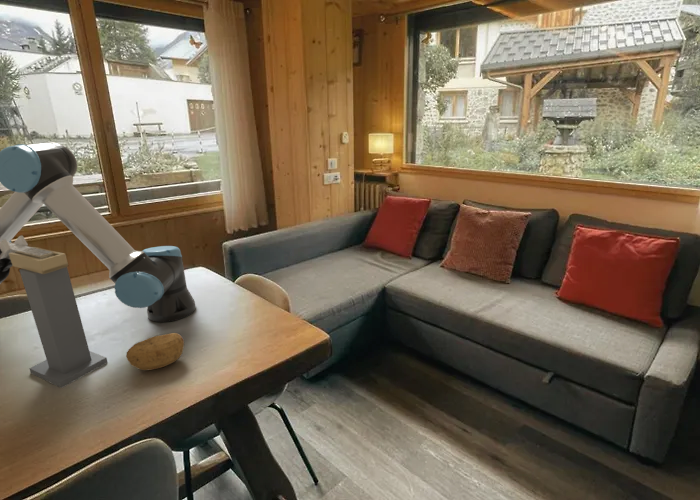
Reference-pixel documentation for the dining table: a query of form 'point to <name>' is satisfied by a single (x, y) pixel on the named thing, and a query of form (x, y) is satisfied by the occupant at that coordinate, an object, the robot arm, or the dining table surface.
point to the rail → (28, 251)
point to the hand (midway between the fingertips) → (15, 242)
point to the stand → (56, 319)
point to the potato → (156, 351)
